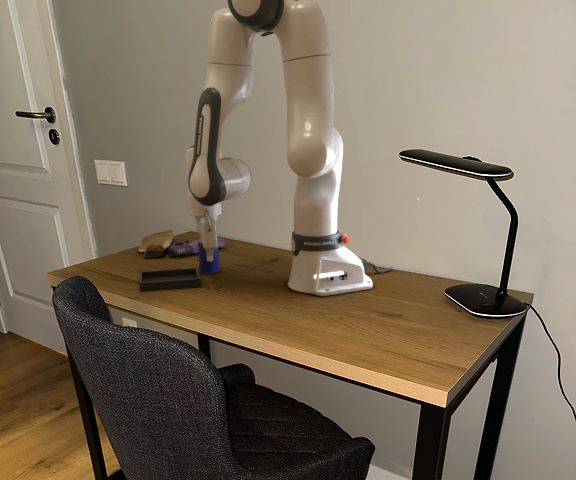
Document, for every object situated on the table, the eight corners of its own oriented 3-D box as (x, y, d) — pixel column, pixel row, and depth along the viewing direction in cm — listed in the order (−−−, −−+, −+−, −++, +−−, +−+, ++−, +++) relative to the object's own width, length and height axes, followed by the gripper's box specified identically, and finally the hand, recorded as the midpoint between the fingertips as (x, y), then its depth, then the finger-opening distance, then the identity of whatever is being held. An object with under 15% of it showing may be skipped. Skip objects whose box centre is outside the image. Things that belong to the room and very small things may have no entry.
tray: (197, 275, 162) (197, 267, 161) (201, 287, 153) (200, 278, 152) (140, 279, 159) (139, 271, 158) (140, 291, 150) (139, 283, 149)
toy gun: (208, 243, 194) (226, 249, 188) (158, 253, 182) (175, 259, 176) (208, 231, 193) (226, 236, 186) (157, 240, 181) (174, 246, 174)
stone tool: (173, 256, 177) (177, 237, 199) (170, 242, 175) (175, 225, 197) (136, 262, 177) (144, 243, 199) (132, 249, 175) (141, 231, 197)
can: (218, 268, 168) (216, 237, 164) (220, 273, 163) (218, 242, 159) (199, 269, 167) (196, 238, 163) (200, 275, 162) (198, 243, 158)
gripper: (221, 214, 148) (224, 267, 155) (212, 200, 166) (215, 247, 172) (196, 215, 147) (200, 268, 154) (190, 201, 165) (194, 249, 171)
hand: (208, 257), depth 163 cm, fingers closed on can, 5 cm apart
